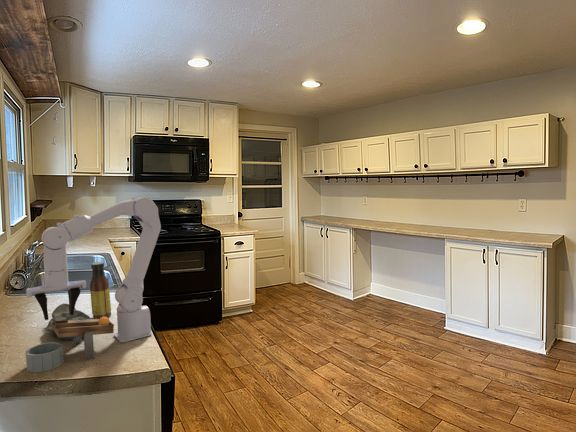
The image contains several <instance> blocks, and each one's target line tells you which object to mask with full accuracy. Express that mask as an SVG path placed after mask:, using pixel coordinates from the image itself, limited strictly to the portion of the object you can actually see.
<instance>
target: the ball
mask: <svg viewBox="0 0 576 432" xmlns="http://www.w3.org/2000/svg"><path fill="white" fill-rule="evenodd" d="M109 318H110V317H102V318H100V319H99V321H98V324H99V325H109V323H110V322H111V321H110V319H109Z"/></svg>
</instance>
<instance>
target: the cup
mask: <svg viewBox="0 0 576 432" xmlns="http://www.w3.org/2000/svg"><path fill="white" fill-rule="evenodd" d="M25 362H26V363H25V364H26V365H25V367H26V370H27V372H29V371H30V372H29V373H43V372H48V371H52V370H54V369H56V368H58V367H61V366H62V364H63V363H64V347H63V344H62V343H60V342H56V341H53V342H51V341H50V342H43V343H40V344H36V345H34V346H31V347H29V348H28V349H27V350H26V351H25Z"/></svg>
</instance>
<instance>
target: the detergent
mask: <svg viewBox="0 0 576 432" xmlns="http://www.w3.org/2000/svg"><path fill="white" fill-rule="evenodd" d="M60 317H66V319H67V320H72V319H74V318H80V320H87V319H92V318H91V317H90V316H89V315H88V314H86V313H85V312H83V311H81V310H78V309H76V308H74V315H70V314H69V303H61V304H59V305H58V306H57V307H56V308H55V309H54V310H53V311H52V312H51V318H50V320H49V321H48V323H47V325H46V327H45V329H46V330H47V331H48V332H49V333H50V334H52V336H54V337H56V338H57V339H60V340H64V341H73V336H71V337H58V336H57V335H56V333H55V332H54V330H53V328H52V327H51V325H50V322H51V321H53V319H54V318H60ZM81 338H84V336H81Z"/></svg>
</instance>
